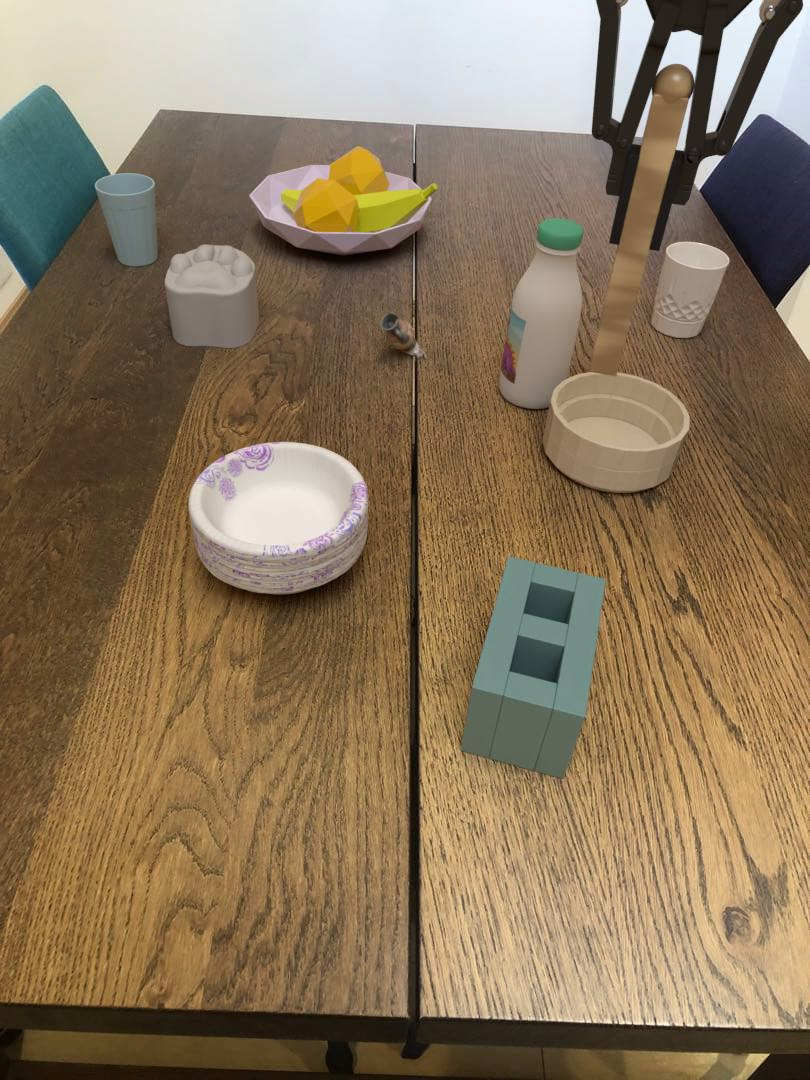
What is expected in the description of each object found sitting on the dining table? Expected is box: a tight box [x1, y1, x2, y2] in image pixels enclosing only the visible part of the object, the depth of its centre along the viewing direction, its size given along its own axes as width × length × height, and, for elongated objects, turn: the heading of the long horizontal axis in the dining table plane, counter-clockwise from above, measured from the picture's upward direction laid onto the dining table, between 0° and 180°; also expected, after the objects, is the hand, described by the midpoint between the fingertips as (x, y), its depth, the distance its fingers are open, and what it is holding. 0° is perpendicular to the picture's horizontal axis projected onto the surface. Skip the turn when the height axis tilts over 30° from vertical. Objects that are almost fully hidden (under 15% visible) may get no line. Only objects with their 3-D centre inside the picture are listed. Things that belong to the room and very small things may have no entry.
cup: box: [94, 172, 159, 267], centre depth 112 cm, size 8×8×10 cm
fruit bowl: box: [248, 145, 439, 257], centre depth 121 cm, size 28×27×11 cm
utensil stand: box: [459, 555, 607, 780], centre depth 62 cm, size 8×13×8 cm, turn 164°
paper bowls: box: [187, 441, 369, 596], centre depth 72 cm, size 15×15×8 cm
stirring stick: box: [588, 63, 695, 376], centre depth 64 cm, size 3×3×24 cm
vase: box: [374, 312, 428, 364], centre depth 99 cm, size 5×5×6 cm
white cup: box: [650, 241, 731, 339], centre depth 107 cm, size 8×8×10 cm
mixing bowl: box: [541, 371, 691, 494], centre depth 87 cm, size 14×14×6 cm
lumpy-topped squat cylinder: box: [164, 244, 260, 349], centre depth 102 cm, size 10×13×9 cm
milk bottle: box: [498, 217, 584, 410], centre depth 90 cm, size 8×8×20 cm
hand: (635, 239), depth 64 cm, fingers closed on stirring stick, 2 cm apart
